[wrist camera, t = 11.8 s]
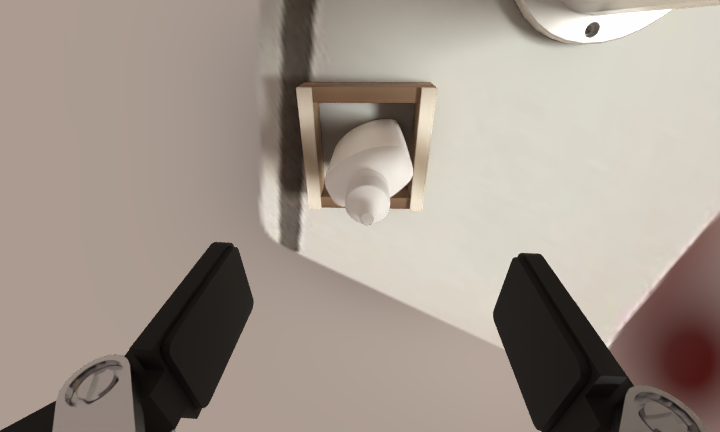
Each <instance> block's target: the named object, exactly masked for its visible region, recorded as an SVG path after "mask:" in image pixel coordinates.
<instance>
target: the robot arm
mask: <svg viewBox="0 0 720 432" xmlns="http://www.w3.org/2000/svg"><path fill="white" fill-rule="evenodd" d="M515 2H516V4H517V5H518V7H519V9H520V11H521V13H522V14H523V16H524V18H525V19H526V20H527V21H528V22H529V23H530V24H531V25H532V26H533V27H534V28H535V29H536V30H537V31H539V32H541V33H542V34H544V35H546V36H547V37H549V38H551V39H554V40H558V41H561V42H564V43H573V44H595V43H603V42H607V41H611V40H615V39H619V38H622V37H625V36H627V35H629V34H632V33H634V32H636V31H638V30H641V29H643V28H644V27H646V26H648V25H649V24H651V23H653V22H654V21H656V20H657V19H659V18H661V17H662V16H664V15H665V14H666V13H668V12H669V11H670V10H671V9H680V8H692V7H703V6H714V5H720V0H515ZM586 28H587V31H586V33H585V29H586ZM252 308H253V297H252V294H251V290H250V287H249V283H248V280H247V277H246V274H245V270H244V267H243V263H242V260H241V256H240V253H239V250H238V248H237V247H234V246H233V244H232V243H223V242H214V243H212V244H211V245H210V247H209V248H208V249H207V250H206V252H205V253H204V254H203V255H202V257H201V258H200V259H199V261H198V262H197V263H196V264H195V266H194V267H193V268H192V269H191V271H190V272H189V273H188V275H187V276H186V277H185V278H184V280H183V281H182V283H181V284H180V285H179V286H178V287H177V289H176V290H175V291H174V292H173V294H172V295H171V296H170V298H169V299H168V300H167V301H166V303H165V304H164V305H163V306H162V308H161V309H160V310H159V312H158V313H157V314H156V315H155V317H154V318H153V319H152V321H151V322H150V323H149V324H148V326H147V327H146V328H145V329H144V331H143V332H142V333H141V335H140V336H139V337H138V338H137V340H136V341H135V342H134V343H133V345H132V346H131V347H130V350H129V351H128V352H127V354H126V355H125V356H123V355H116V354H114V355H107V356H104V357H101V358H98V359H96V360H93V361H92V362H90V363H88V364H86V365H84V366H83V367H82V368H80V369H79V370H78V371H76V372H75V373H74V374H73V375H72V376H71V377H70V378H69V379H68V380H67V381H66V382H65V384H64V385H63V387H62V388H61V390H60V391H59V394H58V397H57V400H56V401H55V402H53V403H51V404H49V405H47V406H45V407H43V408H42V409H40V410H38V411H36V412H34V413H32V414H30V415H28V416H27V417H25V418H23V419H21V420H19V421H17V422H15V423H14V424H12V425H10V426H8V427H6V428H4V429H3V430H1V431H0V432H176V431H175V428H176V426H177V424H178V422H179V420H180V418H193V419H194V418H195V419H197V418H198V416H199V414H200V411H201V409H202V408H205V407H206V406H207V405H208V404H209V402H210V400H211V398H212V396H213V394H214V392H215V389H216V387H217V385H218V383H219V380H220V378H221V376H222V374H223V372H224V370H225V367H226V365H227V363H228V361H229V359H230V357H231V354H232V352H233V350H234V348H235V346H236V343H237V341H238V339H239V337H240V335H241V333H242V331H243V328H244V326H245V324H246V322H247V320H248V317H249V315H250V313H251V311H252ZM493 318H494V322H495V325H496V327H497V330H498V333H499V335H500V338H501V340H502V343H503V346H504V348H505V351H506V354H507V356H508V359H509V361H510V364H511V367H512V369H513V372H514V374H515V377H516V379H517V382H518V385H519V388H520V390H521V393H522V395H523V398H524V400H525V403H526V406H527V409H528V411H529V414H530V416H531V419H532V421H533V424H534V426H535V427H536V429H537V430H540V431H542V432H708V430H707V429H706V427H705V425H704V424H703V422H702V421H701V420H700V419H699V418H698V417H697V416H696V415H695V413H694V412H693V411H691V410H690V409H689V408H688V407H687V406H686V405H684V404H683V403H682V402H681V401H679V400H678V399H676V398H674V397H673V396H671V395H670V394H668V393H666V392H663V391H661V390H659V389H657V388H654V387H650V386H645V385H636V386H634V385H633V384H632V382H631V381H630V380H629V378H628V377H627V376H626V374H625V372H624V371H623V370H622V368H621V367H620V365H619V364H618V362H617V361H616V360H615V358H614V357H613V355H612V354H611V352H610V351H609V350H608V348H607V347H606V345H605V344H604V342H603V341H602V340H601V338H600V337H599V335H598V334H597V332H596V331H595V330H594V328H593V327H592V325H591V324H590V322H589V321H588V320H587V318H586V317H585V315H584V314H583V313H582V311H581V310H580V308H579V307H578V305H577V304H576V303H575V301H574V300H573V299H572V297H571V296H570V294H569V293H568V292H567V290H566V289H565V287H564V286H563V284H562V283H561V282H560V280H559V279H558V277H557V276H556V274H555V273H554V272H553V270H552V269H551V267H550V266H549V264H548V263H547V262H546V260H545V259H544V257H543V256H542V255H541V254H532V253H520V254H519V255H518V257H514V258H513V259H512V262H511V264H510V267H509V270H508V273H507V275H506V278H505V281H504V284H503V286H502V289H501V292H500V295H499V297H498V300H497V303H496V305H495V308H494V311H493Z"/></svg>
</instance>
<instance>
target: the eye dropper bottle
mask: <svg viewBox="0 0 720 432" xmlns="http://www.w3.org/2000/svg"><path fill="white" fill-rule="evenodd" d="M412 176H413V167H412V163H411V159H410V156H409V152H408V149H407V146H406V142H405V139H404V136H403V133H402V131H401V128H400V126H399V123H398V122H397V121H396V120H393V119H380V120H374V121H370V122H367V123H364V124H361V125H359V126H357V127H356V128H354V129H352V130H351V131H349V132H348V133H347V134H346V135H344V136H343V137H342V138H341V139H340V140H339V142H338V143H337V144H336V147H335V150H334V153H333V155H332V158H331V161H330V165H329V168H328V171H327V174H326V178H325V186H326V189H327V191H328V193H329V195H330V196H331V198H332V200H333V201H334V203H336V204H337V205H339V206H341V207H346V211H347V213H348V215H350V217H351V218H353V219H354V220H355V221H357V222H360V223H362V224H364V225H371V224H372V223H375V222H378V221H380V220H381V219H383V218H384V217H385V216H386V215H387V213H388V211H389V209H390V197H392V196H393V195H395V194H396V193H397V192H399V191H400V190H401V189H402V188H403V187H404V186H405V185H406V184H407V183H408V182H409V181H410V180H411V178H412Z"/></svg>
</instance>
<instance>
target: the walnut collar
mask: <svg viewBox="0 0 720 432" xmlns="http://www.w3.org/2000/svg"><path fill="white" fill-rule="evenodd" d="M296 93H297V102H298V111H299V120H300V129H301V139H302V148H303V157H304V166H305V175H306V184H307V193H308V202H309V209H321V207H331V208H346V207H341V206H339V205H337V204H336V203H334V201H333V200H332V198H331V196H330V195H329V193H328V191H327V189H326V186H325V180H324V166H323V153H322V139H321V125H320V112H319V103H415V109H414V120H413V131H412V142H411V153H410V159H411V163H412V167H413V176H412V178H411V180H410V181H409V182H408V185H405V186H404V187H403V188H402V189H401V190H400V191H399V192H397V193H396V194H395V195H393V196H392V197H390V208H392V209H410V211H422V207H423V199H424V191H425V183H426V174H427V166H428V158H429V150H430V142H431V134H432V126H433V118H434V110H435V102H436V94H437V87H435V86H434V85H433V84H432V83H430V82H304V83H302V84H301V85H299V86H298V87H296Z"/></svg>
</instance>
